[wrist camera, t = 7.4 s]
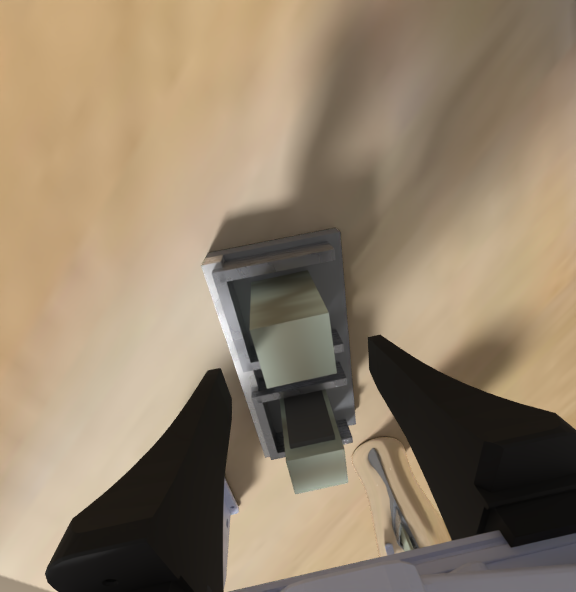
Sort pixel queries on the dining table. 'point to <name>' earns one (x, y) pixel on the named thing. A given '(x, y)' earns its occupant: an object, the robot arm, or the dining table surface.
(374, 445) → the beer glass
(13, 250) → the dining table surface
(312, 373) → the sage green rectangular prism
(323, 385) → the grey slotted rack
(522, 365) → the dining table surface
